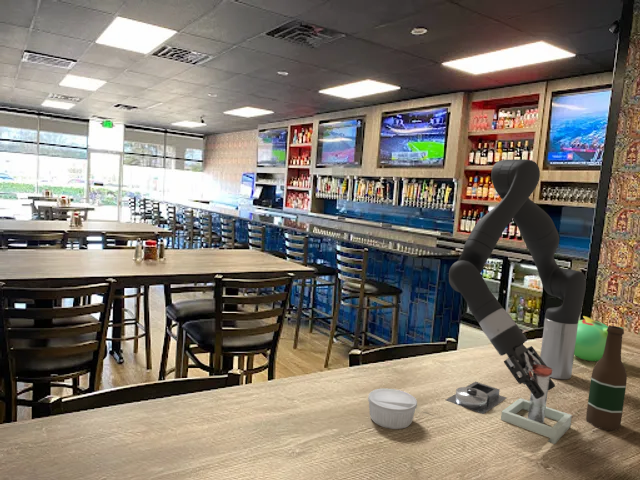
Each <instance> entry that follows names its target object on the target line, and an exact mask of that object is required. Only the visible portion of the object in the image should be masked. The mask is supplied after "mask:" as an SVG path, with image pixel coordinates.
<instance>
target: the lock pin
mask: <svg viewBox="0 0 640 480" xmlns="http://www.w3.org/2000/svg"><path fill="white" fill-rule="evenodd" d="M532 371H533V372H532ZM532 371H531V372H532V376H533V378H534V380H535V381H536V382H537V384H538V385H539V386H540V388H541V389H542V391H543V392H544V396H542V397H540V398H539V399H536V398H535V397H534V396H533V394H532V393H531V392H530V395H529V401H530V403H529V411H527V418H528V419H531V420H533V421H536V422H539V423H542V424H545V418H546V417H545V409H546V407H547V401H548V393H549V390H548V386H549V378H550V379H551V377H550V375H552V369H551V368H550V367H547V366H544V365H538V364H535V365H533V366H532Z"/></svg>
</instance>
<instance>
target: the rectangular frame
mask: <svg viewBox="0 0 640 480" xmlns="http://www.w3.org/2000/svg"><path fill="white" fill-rule="evenodd" d="M529 403H530V400H528V399H524V398H521V397H520V398H518V399H516V401H514V402H512V403H511V404H510V405H509V406H507V407H505V408H504V409H503V410H502V411H501V413H500V414H501V415H500V420H501V421H503V422H505V423H508V424H512V425H514V426H517V427H519V428H521V429H525V430H527V431H530V432H532V433H536V434H538V435H541V436H544V437H547V438H549V439H548V440H547V442H548V443H550V444H553V445H555V444H557V442H558V441H560V439H561V438H562V437H563V436H564V435H565V433H566V432H568V431H569V429H570V428H571V423H572V418H573V417H572V414H570V413H567V412H564V411H560V410H558V409H555V408H551V407H548V406H546V409H545V417H544V418H547V419H551V420H554V421H557V422H556V423H555V424H554V425H553V426H550V425H547V424H545V423H544V424H542V423H539V422H536V421H533V420H531V419H528V417H525V416H521V415H520V414H517V413H519V412H520V411H521V410H524V411H527V412H528V411H529Z"/></svg>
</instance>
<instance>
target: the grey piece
mask: <svg viewBox="0 0 640 480" xmlns="http://www.w3.org/2000/svg"><path fill="white" fill-rule="evenodd" d="M500 391H501V390H500V388H496V387H494V386H491V385H488V384H484V383H481V382H478V381H474V382H472V383H471V384H469V385H467V386H465V387H464V386H462V387H458V388H456V390H455V394H453V395H451V396H450V397H448V398H446V399H445V401H446V402H449V403H452V404H454V405H458V406H460V407H462V408H465V409H468V410H469V411H470V410H471V411H473V412H476V413H478V414H481V415H484V414H486V413H487V412H489V411H490V410H492V409H493V408H495V407H496V406H498V405H499V404H500V403H502V402H504V400H506V399H507V397H506V396H504V395H500Z"/></svg>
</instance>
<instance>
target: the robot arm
mask: <svg viewBox="0 0 640 480" xmlns="http://www.w3.org/2000/svg"><path fill="white" fill-rule="evenodd" d="M540 170H541V169H540V167H539V165H538V163H537V162H535V161H534V160H532V159H521V158H520V159H501V160H499V161H496V163H494V164H493V167H492V169H491V176H490V178H491V182H492V183H491V184H492V185H493V188H494V189H495V192H496V193H497V194H498V196H499V197H500V199H501V200H500V202H499V203H498V204H496V205H495V206H494V207H493V208H492V209H491V210H490V211H488V212H487V213H486V214H484V216H483V215H482V217H481V218H480V219H479V220H478V221H477V223H476V224H475V225H474V227H472V230H471V232H470V233H469V236H468V237H467V239H466V241H465V243H464V246H463V250H462V253H461V254H460V256H459V258H458V260H457V261H455V262H454V263H452V265H451V266H450V267H449V271H448V283H449V285H450V287H451V288H452V289H453V290H454V291H455V292H458V293H460V294H461V296H462V297H463V299H464V300H465V302H466V304H467V307H468V309H469V312H470V313H471V314H472V316H473V317H474V318H475V321H477V323H478V324H479V326H480V328H481V329H482V331H483V334H485V336H486V337H487V339H488V340H489V341H490V344H491V345H492V346H493V347H494V349H495V350H496V351H497V354H498V355H500V356H507V358H506V359H504V361H503V363H504V365H505V366H506V368H507V369H508V370H509V372H510V373H511V374H512V376H513V377H514V379H515V381H516V382H517V383H518V384H519V385H521V384H523V385H524V386H526V388H527V389H528V390H529V392H530V394H531V393H532V394H533V396H534V397H535V398H536V399H539V398H540V397H542V396H544V392H543V391H542V389H541V388H540V386H539V385H538V384H537V382H536V381H535V380H534V378H533V371H532V366H533V365H535V364H538V365H544V366H547V367H550V368H551V369H552V375H550V378H549V386H548V391H550V390H552V389H554V388H555V387H556V384H555V383H554V381H553V380H552V378H553V379H557V380H558V379H559V380H569V379H571V378H572V373H573V367H574V366H573V365H574V357H575V355H574V351H575V344H576V336H577V328H578V321H579V320H580V316H581V314H582V310H583V305H584V300H585V299H584V298H585V294H586V287H587V279H586V276H585V274H584V272H582V271H580V270H575V269H570V268H565V267H560V266H559V265H558V264H557V262H556V259H555V253H556V251H557V249H558V246H559V243H560V235H559V232H558V230H557V228H556V227H557V226H555V222H554V221H553V219H552V218H551V217H550V215H549V214H548V213H547V212H546V211H545V210H544V209H543V208H541V207H540V206H539V205H537V204H536V203H535V202H534V201H533V200H532V199H531V198H530V196H532V194H533V193H534V191H535V190H536V188H537V186H538V185H539V182H540V177H541V171H540ZM512 220H513V221H514V223H515V224H516V227H517V229H518V231H519V233H520V236H521V238H522V240H523V242H524V244H525V245H526V247H527V249H528V251H529V254H530V255H531V258H532V260H533V262H534V264H535V267H536V269H537V272H538V276H539V279H540V281H541V284H542V287H543V289H544V291H545V292H546V293H547V294H548V295H549V296H552V297H554V298H559V299H563V300H562V301H563V302H562V304H561V305H560V306H556V307H548V308H547V309H546V311H545V314H544V323H543V332H542V333H543V334H542V339H541V340H542V341H541V349H540V355H539V353H538V352H537V351H536V349H535V348H534V347H533V346H532V345H530V346H528V347H526V346H525V345H524V343H526V342H527V341H528V338H527V336H526V335H525V334H524V333H523V331H522V330H521V329H520V327H519V326H518V324H517V323H516V322H515V320H514V319H513V318H512V316H511V315H510V314H509V312H507V310H505V308H504V307H503V305H502V304H501V303H500V302H499V300H498V299H497V298H496V296H495V295H494V294H493V293H492V292H491V290H490V288H489V287H488V284H487V282H486V281H485V279H484V278H483V276H482V271H483V269H484V267H485V264H486V263H487V261H488V260H489V258H490V257H491V255H492V253H493V251H494V250H495V247H496V246H497V243H498V242H499V240H500V238H501V236H502V235H503V233H504V231H505V230H506V228H508V225H509V224H510V222H511V221H512Z"/></svg>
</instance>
